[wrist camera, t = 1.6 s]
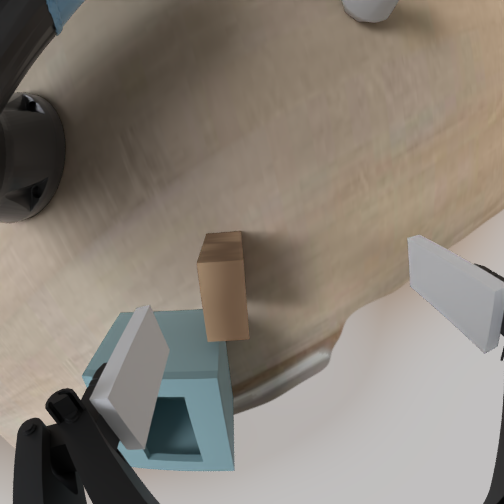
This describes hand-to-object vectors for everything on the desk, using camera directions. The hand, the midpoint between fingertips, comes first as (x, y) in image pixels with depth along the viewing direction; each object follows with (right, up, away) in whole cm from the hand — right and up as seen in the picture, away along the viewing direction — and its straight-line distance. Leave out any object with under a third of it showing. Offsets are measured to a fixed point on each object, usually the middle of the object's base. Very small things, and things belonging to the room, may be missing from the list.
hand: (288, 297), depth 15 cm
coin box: (-11, -11, +22) cm, 27 cm away
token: (-4, +1, +18) cm, 19 cm away
